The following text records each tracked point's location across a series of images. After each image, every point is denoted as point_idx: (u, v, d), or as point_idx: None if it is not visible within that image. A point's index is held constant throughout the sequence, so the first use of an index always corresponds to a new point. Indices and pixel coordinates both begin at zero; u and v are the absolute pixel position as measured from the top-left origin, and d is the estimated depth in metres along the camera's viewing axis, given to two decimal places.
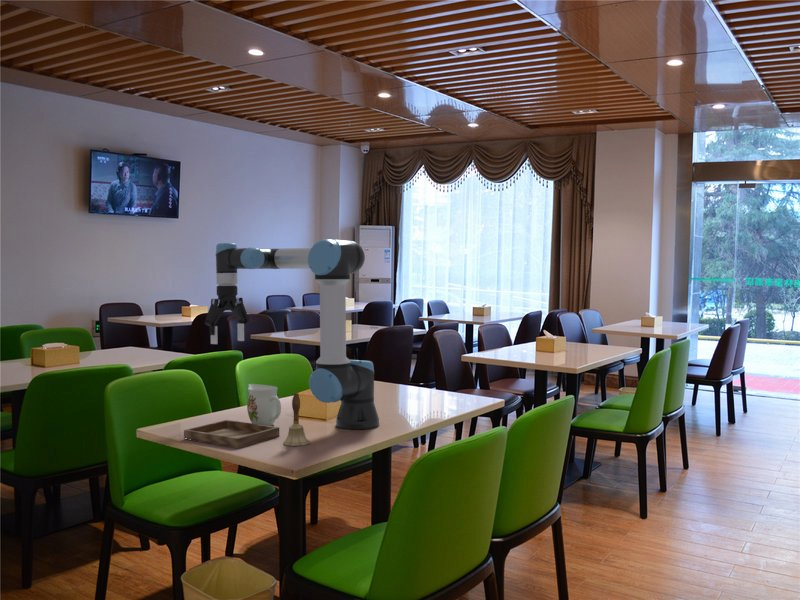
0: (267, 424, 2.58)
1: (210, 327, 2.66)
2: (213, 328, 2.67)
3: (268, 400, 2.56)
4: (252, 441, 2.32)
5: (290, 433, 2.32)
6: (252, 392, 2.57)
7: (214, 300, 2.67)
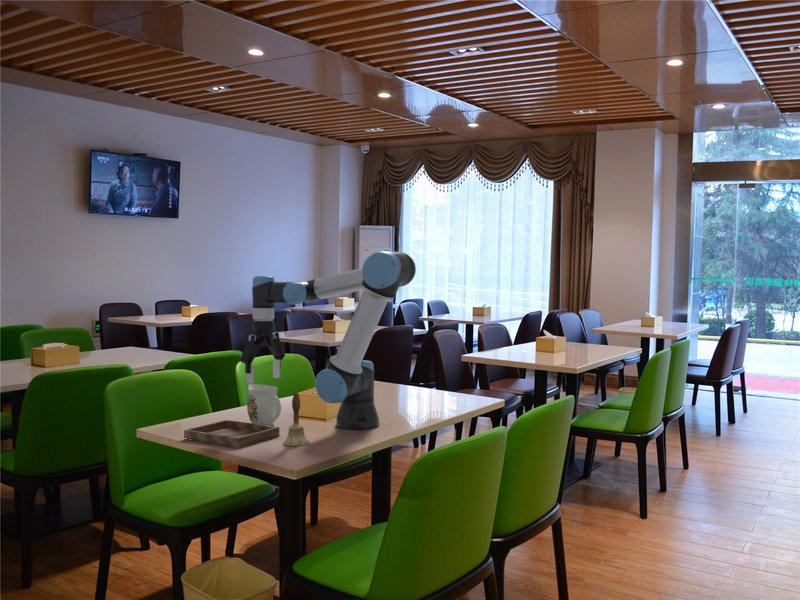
0: (267, 424, 2.58)
1: (246, 365, 2.53)
2: (249, 366, 2.53)
3: (268, 400, 2.56)
4: (252, 441, 2.32)
5: (290, 433, 2.32)
6: (252, 392, 2.57)
7: (250, 336, 2.53)
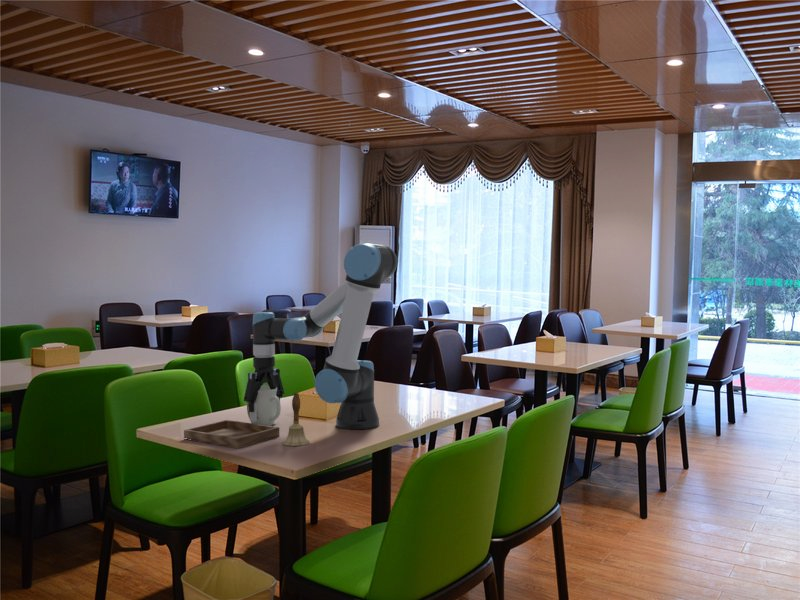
0: (267, 424, 2.58)
1: (249, 404, 2.54)
2: (252, 405, 2.54)
3: (268, 400, 2.56)
4: (252, 441, 2.32)
5: (290, 433, 2.32)
6: None
7: (251, 375, 2.54)
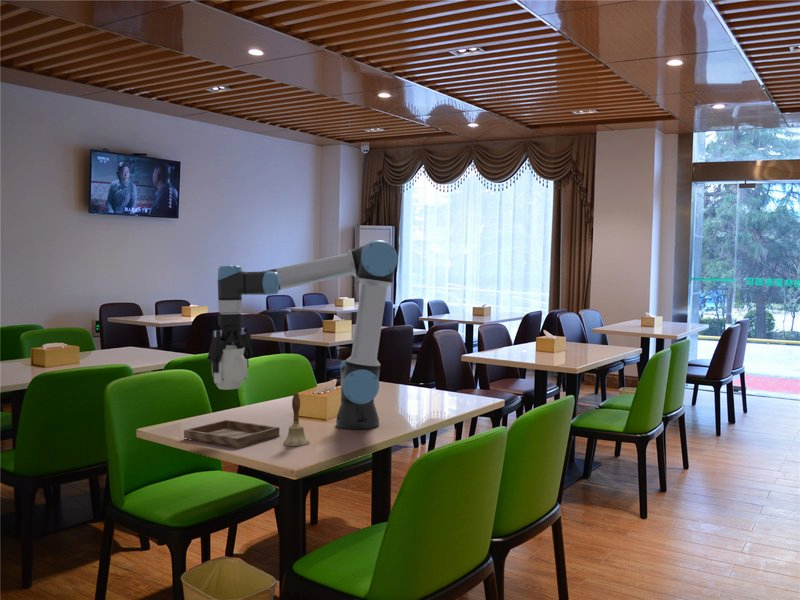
0: (233, 386, 2.38)
1: (213, 364, 2.34)
2: (217, 365, 2.34)
3: (234, 360, 2.37)
4: (252, 441, 2.32)
5: (290, 433, 2.32)
6: None
7: (216, 332, 2.34)
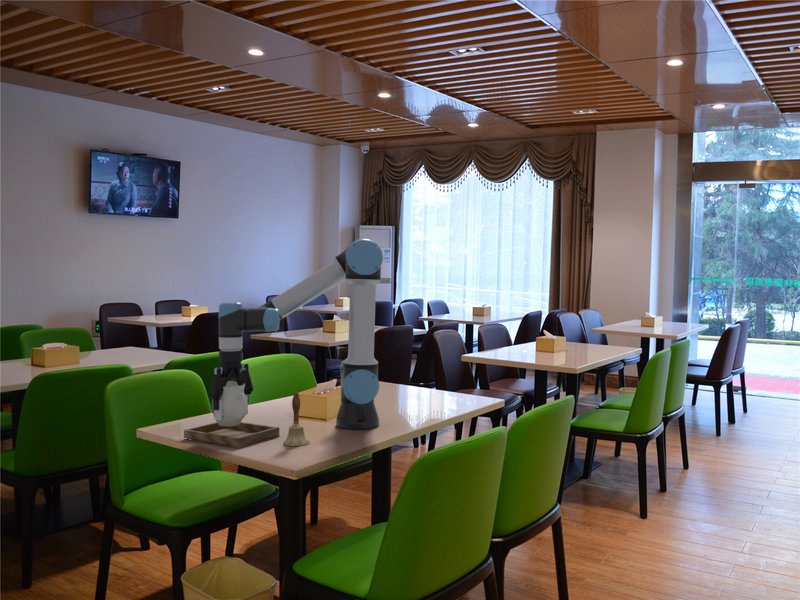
0: (233, 423, 2.39)
1: (214, 401, 2.35)
2: (217, 402, 2.35)
3: (234, 397, 2.37)
4: (252, 441, 2.32)
5: (290, 433, 2.32)
6: None
7: (216, 370, 2.34)
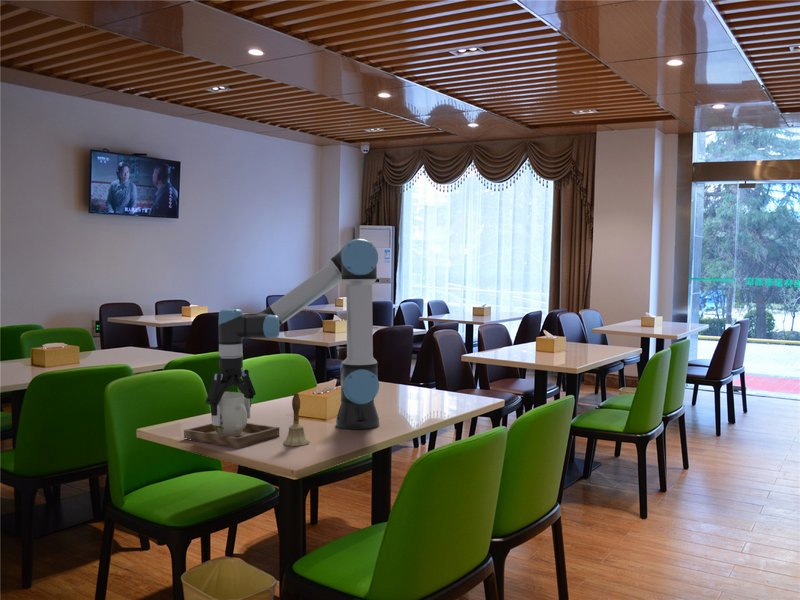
0: (233, 434, 2.39)
1: (212, 407, 2.34)
2: (215, 408, 2.34)
3: (233, 409, 2.37)
4: (252, 441, 2.32)
5: (290, 433, 2.32)
6: None
7: (216, 376, 2.34)
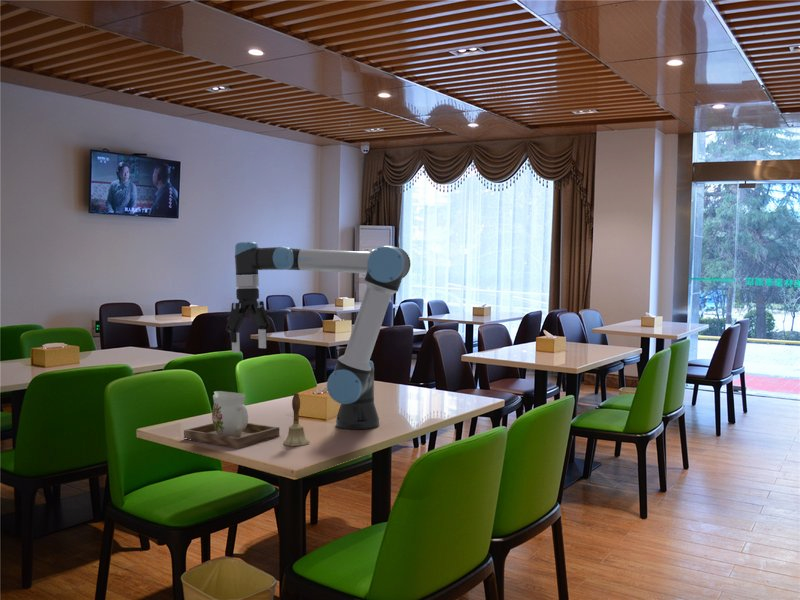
0: (233, 435, 2.39)
1: (231, 334, 2.44)
2: (235, 335, 2.44)
3: (234, 409, 2.37)
4: (252, 441, 2.32)
5: (290, 433, 2.32)
6: (217, 401, 2.37)
7: (235, 304, 2.45)
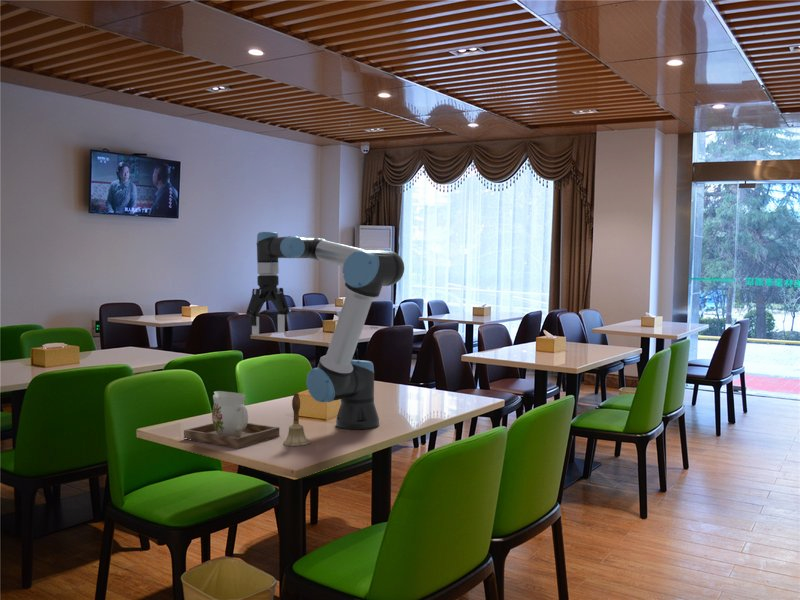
0: (233, 435, 2.39)
1: (252, 318, 2.60)
2: (255, 319, 2.60)
3: (234, 409, 2.37)
4: (252, 441, 2.32)
5: (290, 433, 2.32)
6: (217, 401, 2.37)
7: (256, 290, 2.60)
